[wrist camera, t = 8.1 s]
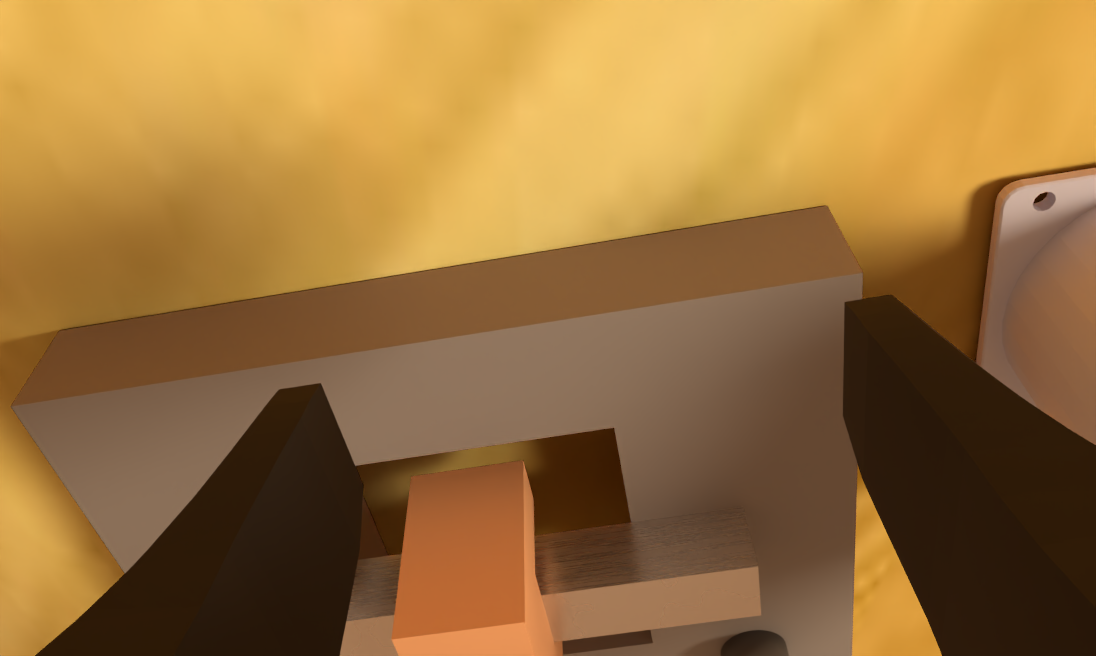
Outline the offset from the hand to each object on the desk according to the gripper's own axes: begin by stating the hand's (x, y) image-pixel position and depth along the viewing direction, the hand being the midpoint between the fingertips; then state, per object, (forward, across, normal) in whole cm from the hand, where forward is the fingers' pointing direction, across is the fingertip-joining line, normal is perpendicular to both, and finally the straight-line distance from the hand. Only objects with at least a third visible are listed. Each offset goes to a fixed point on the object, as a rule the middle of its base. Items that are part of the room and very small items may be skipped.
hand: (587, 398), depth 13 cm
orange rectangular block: (+8, +4, +12) cm, 15 cm away
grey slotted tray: (+10, +4, +12) cm, 16 cm away
